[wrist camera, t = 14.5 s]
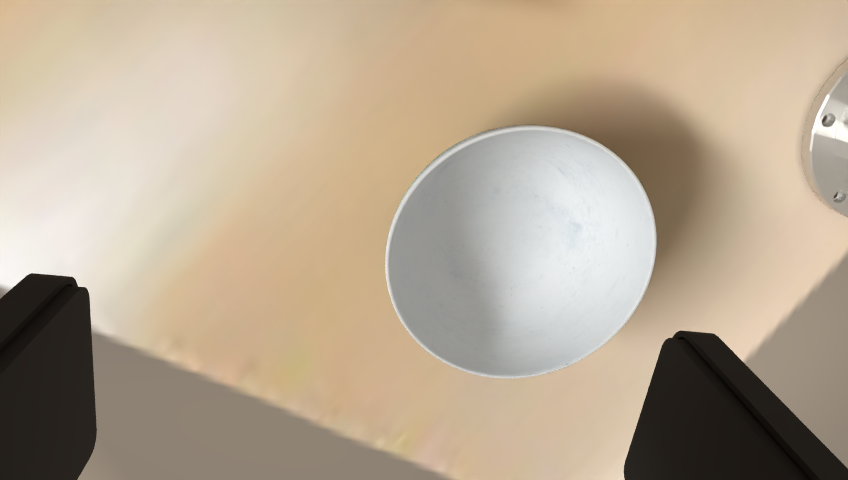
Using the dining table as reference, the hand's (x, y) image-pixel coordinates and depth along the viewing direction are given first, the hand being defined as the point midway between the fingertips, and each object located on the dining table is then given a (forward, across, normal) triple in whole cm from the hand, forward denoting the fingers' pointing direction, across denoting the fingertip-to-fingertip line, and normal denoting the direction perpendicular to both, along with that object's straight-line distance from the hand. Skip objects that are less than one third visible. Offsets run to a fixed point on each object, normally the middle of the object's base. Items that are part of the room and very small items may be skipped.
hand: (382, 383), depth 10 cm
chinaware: (+31, -9, +7) cm, 33 cm away
